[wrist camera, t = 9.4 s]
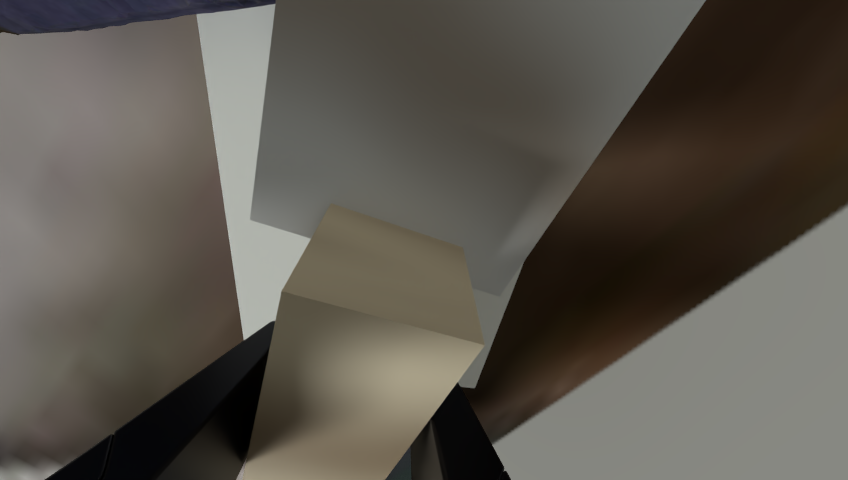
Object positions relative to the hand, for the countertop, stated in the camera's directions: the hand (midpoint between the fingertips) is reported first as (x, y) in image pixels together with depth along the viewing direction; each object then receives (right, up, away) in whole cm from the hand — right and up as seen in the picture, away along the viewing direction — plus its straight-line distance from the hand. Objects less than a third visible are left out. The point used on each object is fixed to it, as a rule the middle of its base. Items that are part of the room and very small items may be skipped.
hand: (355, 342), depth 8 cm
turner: (+1, +3, 0) cm, 3 cm away
